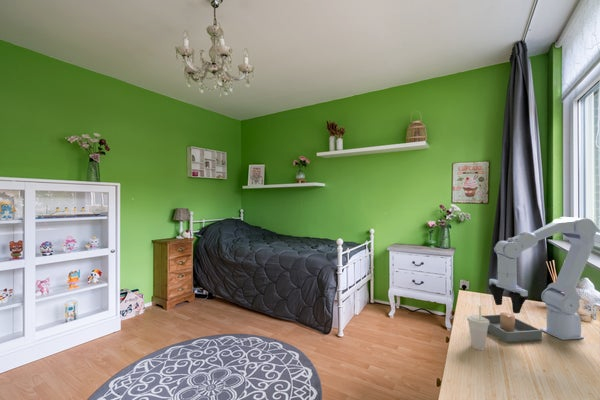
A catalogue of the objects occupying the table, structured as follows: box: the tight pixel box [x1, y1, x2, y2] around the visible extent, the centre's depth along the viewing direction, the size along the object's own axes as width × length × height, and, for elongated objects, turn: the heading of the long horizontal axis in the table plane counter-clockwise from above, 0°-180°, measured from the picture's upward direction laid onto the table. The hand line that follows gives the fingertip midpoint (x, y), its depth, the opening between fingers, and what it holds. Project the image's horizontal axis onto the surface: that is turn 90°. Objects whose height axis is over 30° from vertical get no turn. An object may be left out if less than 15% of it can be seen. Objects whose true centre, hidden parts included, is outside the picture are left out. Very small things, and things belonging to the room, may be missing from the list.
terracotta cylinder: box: [499, 312, 516, 332], centre depth 103 cm, size 4×4×6 cm
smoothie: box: [466, 305, 490, 351], centre depth 92 cm, size 6×6×14 cm
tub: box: [481, 314, 543, 344], centre depth 103 cm, size 14×14×4 cm
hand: (507, 308), depth 103 cm, fingers open, 7 cm apart
